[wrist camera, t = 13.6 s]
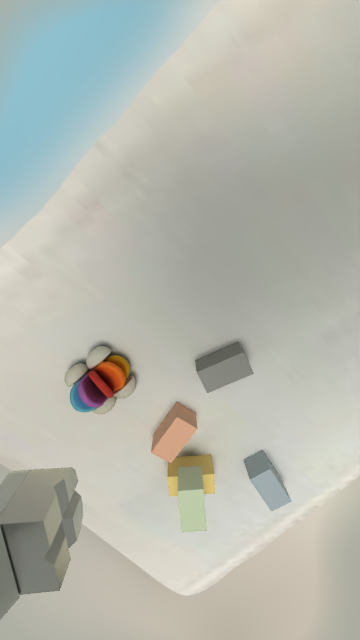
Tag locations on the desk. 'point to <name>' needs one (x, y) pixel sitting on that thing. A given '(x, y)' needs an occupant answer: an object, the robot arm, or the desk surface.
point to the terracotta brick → (174, 432)
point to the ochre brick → (190, 461)
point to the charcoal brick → (223, 367)
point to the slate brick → (266, 480)
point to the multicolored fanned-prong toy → (99, 381)
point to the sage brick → (191, 499)
